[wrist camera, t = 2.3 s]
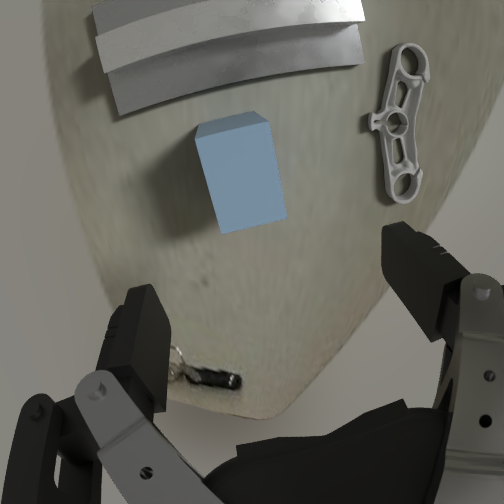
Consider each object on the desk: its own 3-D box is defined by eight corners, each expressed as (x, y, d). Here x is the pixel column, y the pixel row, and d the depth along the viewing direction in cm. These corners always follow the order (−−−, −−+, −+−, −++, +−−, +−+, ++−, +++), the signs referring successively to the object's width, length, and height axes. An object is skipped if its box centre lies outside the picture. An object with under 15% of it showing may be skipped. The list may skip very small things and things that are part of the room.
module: (253, 110, 24) (268, 121, 18) (269, 185, 28) (287, 218, 22) (198, 124, 24) (194, 139, 18) (218, 197, 28) (221, 234, 22)
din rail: (335, -38, 18) (351, -50, 15) (359, 63, 23) (378, 63, 20) (95, 9, 18) (80, 1, 15) (122, 114, 23) (110, 120, 20)
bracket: (458, 69, 22) (414, 208, 28) (446, 68, 23) (404, 201, 30) (396, 33, 20) (350, 190, 27) (386, 35, 22) (342, 183, 29)
